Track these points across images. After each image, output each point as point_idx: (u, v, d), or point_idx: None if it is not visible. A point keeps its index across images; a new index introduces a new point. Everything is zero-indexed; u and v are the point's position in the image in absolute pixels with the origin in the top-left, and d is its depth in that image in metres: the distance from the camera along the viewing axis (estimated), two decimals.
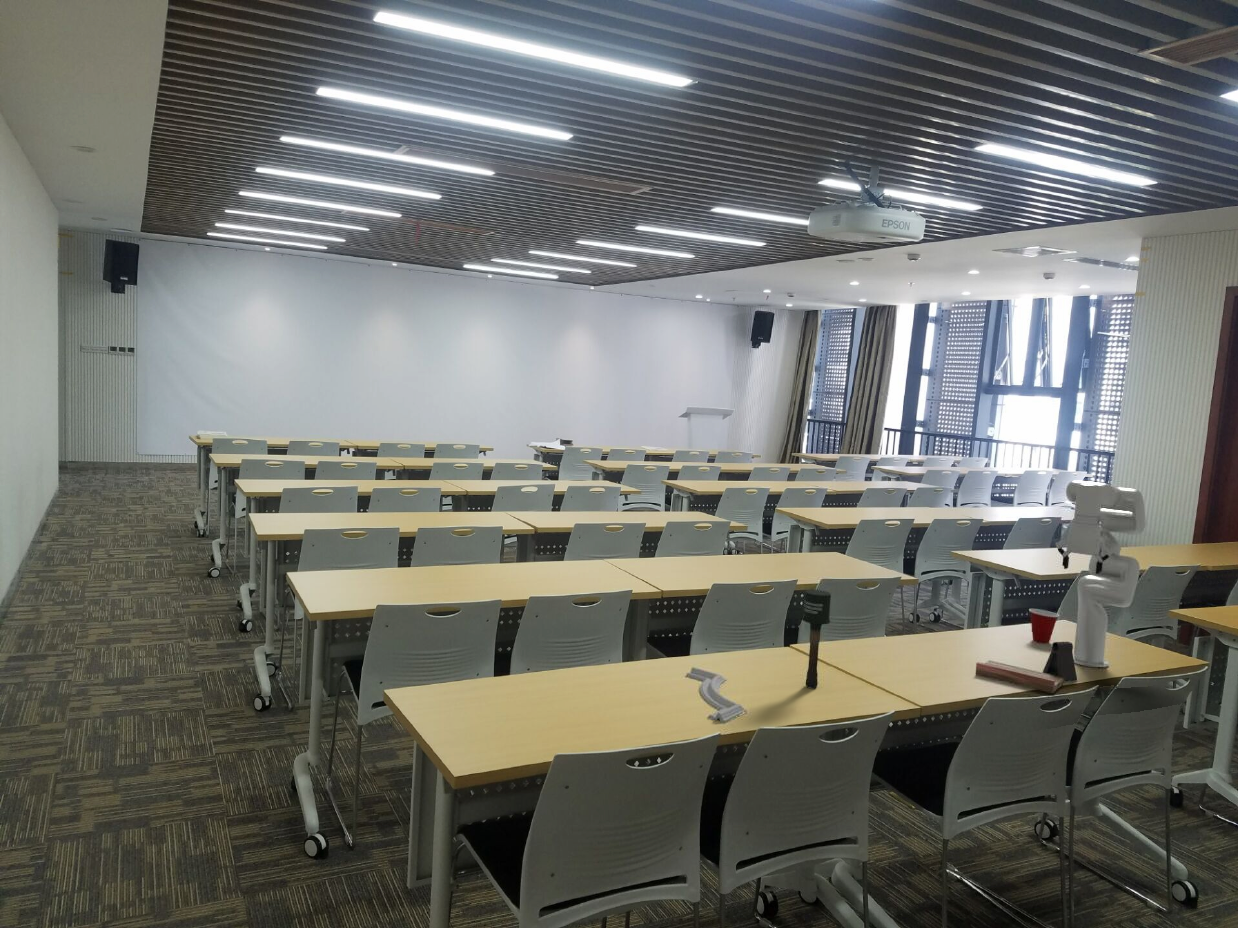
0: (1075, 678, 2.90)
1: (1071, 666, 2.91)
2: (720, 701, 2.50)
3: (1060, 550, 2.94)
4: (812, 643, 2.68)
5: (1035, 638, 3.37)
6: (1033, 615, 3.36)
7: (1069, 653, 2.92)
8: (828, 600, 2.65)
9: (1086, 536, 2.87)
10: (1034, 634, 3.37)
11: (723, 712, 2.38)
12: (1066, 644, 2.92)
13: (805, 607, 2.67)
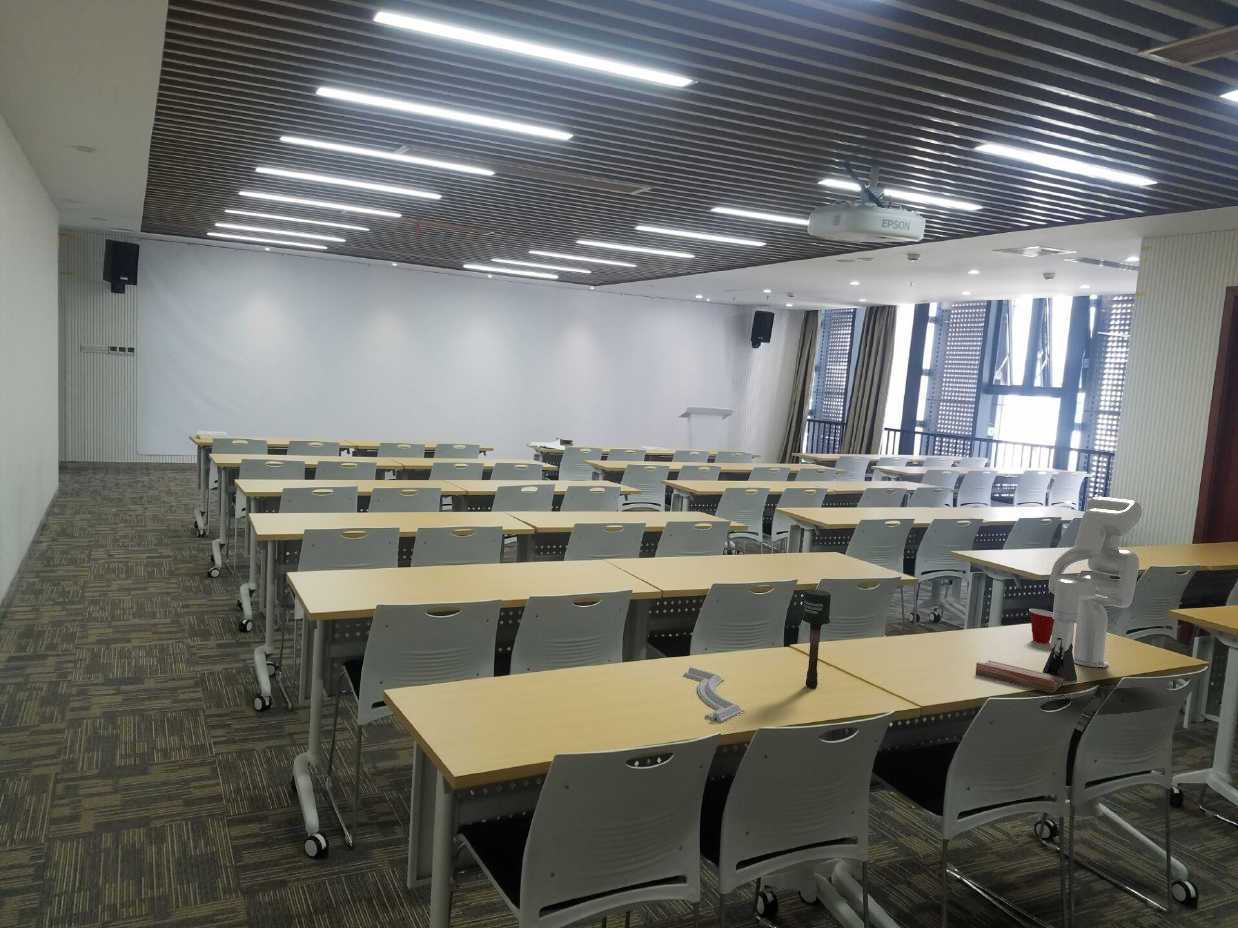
0: (1075, 678, 2.90)
1: (1071, 666, 2.91)
2: (717, 701, 2.49)
3: (1060, 654, 2.88)
4: (812, 643, 2.68)
5: (1035, 638, 3.37)
6: (1033, 615, 3.36)
7: (1069, 653, 2.92)
8: (828, 600, 2.65)
9: (1072, 631, 2.91)
10: (1034, 634, 3.37)
11: (720, 712, 2.38)
12: None
13: (805, 607, 2.67)
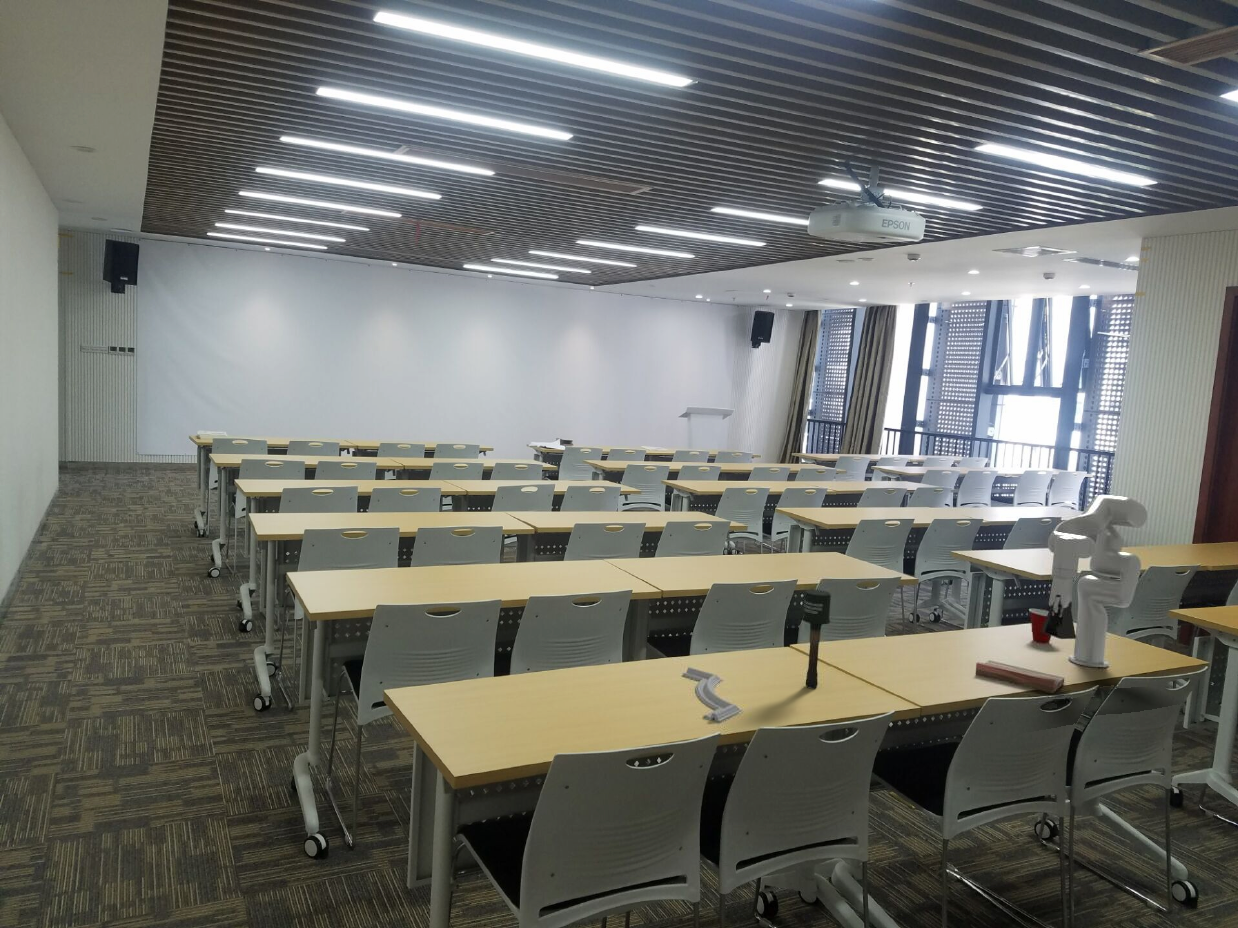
0: (1074, 636, 2.86)
1: (1070, 624, 2.87)
2: (715, 701, 2.49)
3: None
4: (812, 643, 2.68)
5: (1035, 638, 3.37)
6: (1033, 615, 3.36)
7: (1068, 611, 2.88)
8: (828, 600, 2.65)
9: (1071, 589, 2.87)
10: (1034, 634, 3.37)
11: (718, 712, 2.38)
12: None
13: (805, 607, 2.67)
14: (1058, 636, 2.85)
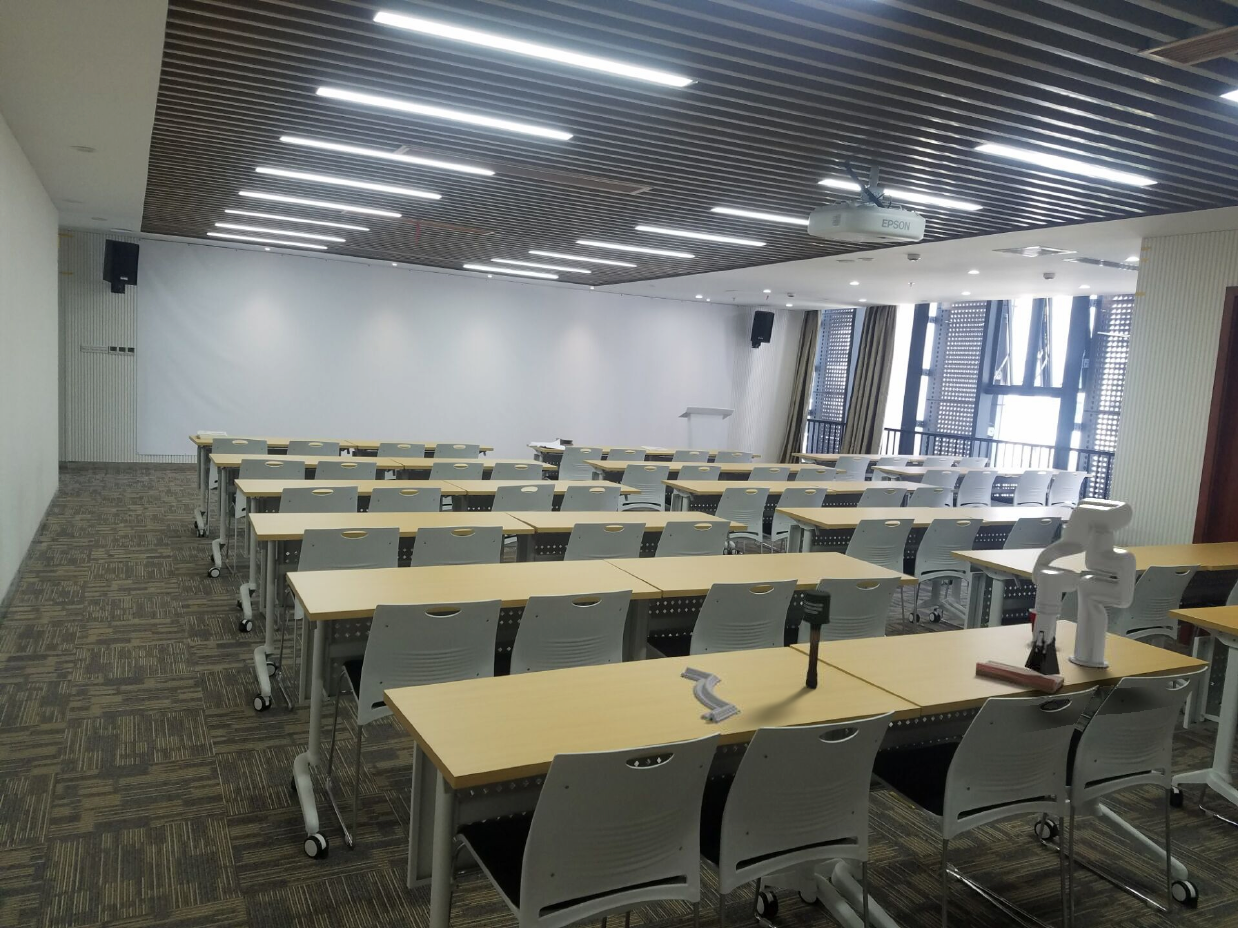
0: (1058, 672, 2.81)
1: (1054, 659, 2.82)
2: (714, 701, 2.49)
3: (1042, 648, 2.79)
4: (812, 643, 2.68)
5: None
6: (1033, 615, 3.36)
7: (1052, 646, 2.83)
8: (828, 600, 2.65)
9: (1055, 624, 2.82)
10: None
11: (716, 712, 2.38)
12: None
13: (805, 607, 2.67)
14: (1042, 672, 2.81)
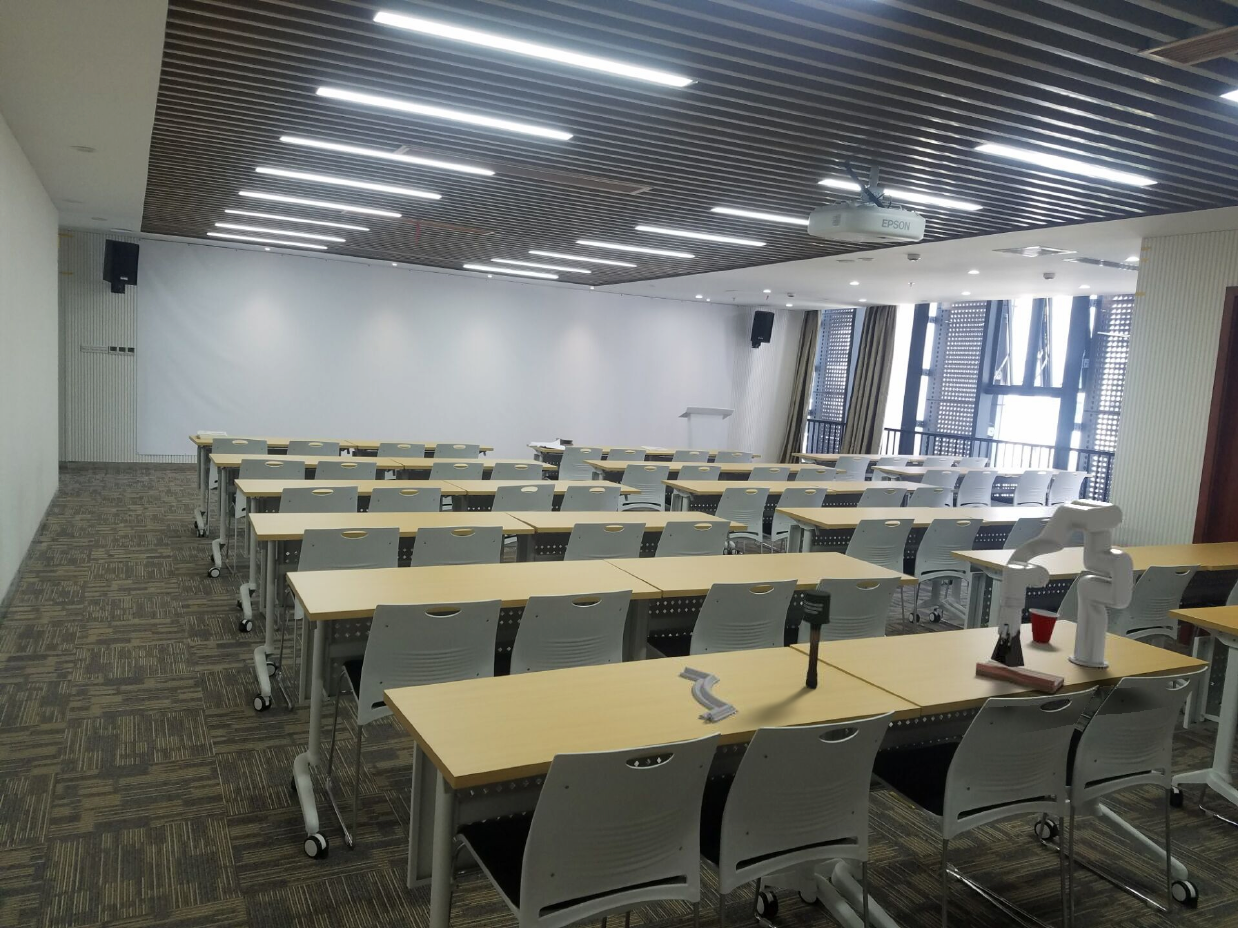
0: (1022, 664, 2.88)
1: (1018, 652, 2.89)
2: (712, 701, 2.49)
3: (1007, 640, 2.86)
4: (812, 643, 2.68)
5: (1035, 638, 3.37)
6: (1033, 615, 3.36)
7: (1016, 639, 2.90)
8: (828, 600, 2.65)
9: (1019, 617, 2.89)
10: (1034, 634, 3.37)
11: (714, 712, 2.38)
12: None
13: (805, 607, 2.67)
14: (1007, 664, 2.88)
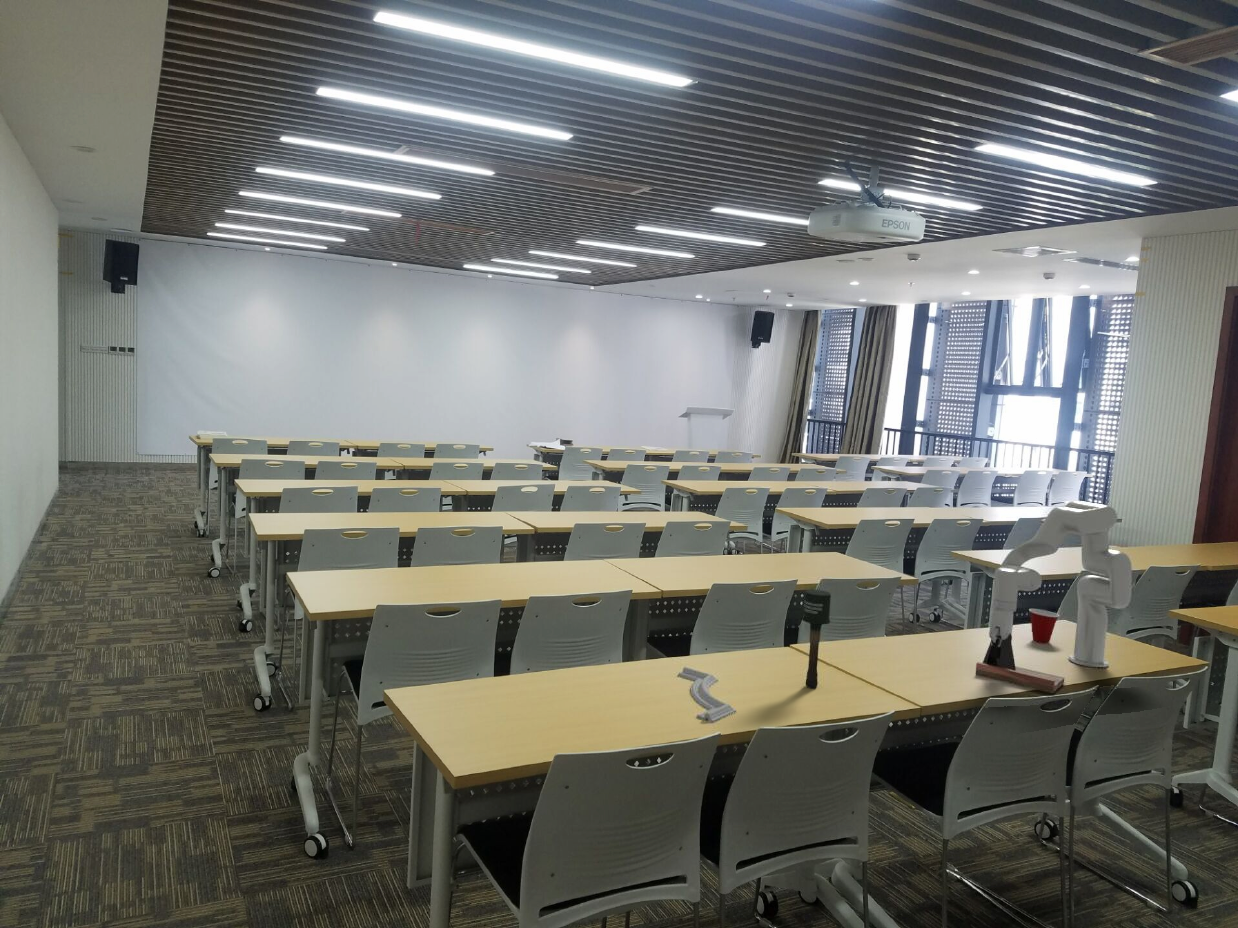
0: (1014, 669, 2.90)
1: (1010, 657, 2.90)
2: (710, 701, 2.49)
3: (997, 641, 2.87)
4: (812, 643, 2.68)
5: (1035, 638, 3.37)
6: (1033, 615, 3.36)
7: (1008, 644, 2.92)
8: (828, 600, 2.65)
9: (1011, 620, 2.91)
10: (1034, 634, 3.37)
11: (711, 712, 2.38)
12: None
13: (805, 607, 2.67)
14: None
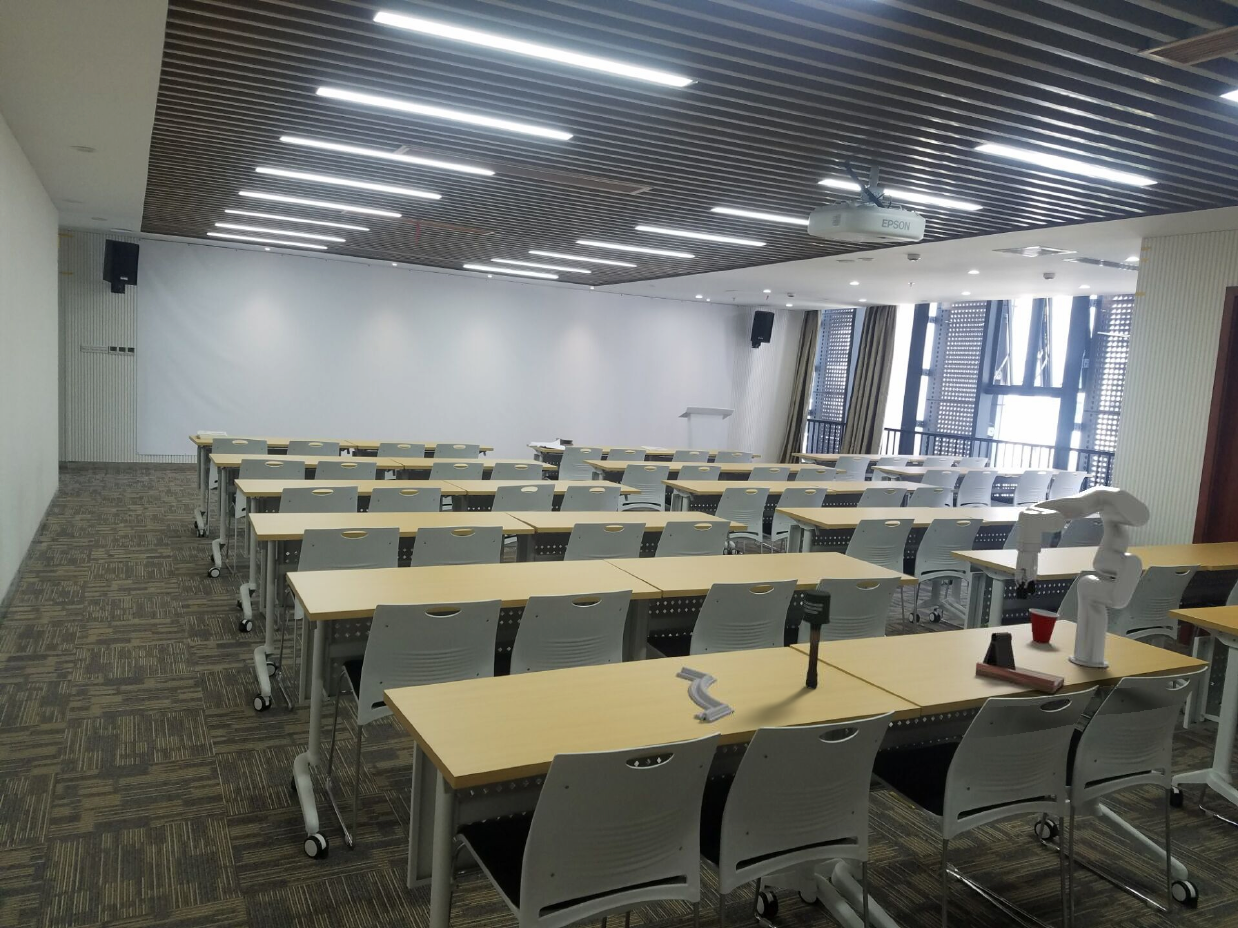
0: (1014, 669, 2.90)
1: (1010, 657, 2.90)
2: (708, 701, 2.49)
3: (1023, 583, 2.90)
4: (812, 643, 2.68)
5: (1035, 638, 3.37)
6: (1033, 615, 3.36)
7: (1008, 644, 2.92)
8: (828, 600, 2.65)
9: (1036, 562, 2.94)
10: (1034, 634, 3.37)
11: (709, 712, 2.38)
12: (1005, 635, 2.91)
13: (805, 607, 2.67)
14: None
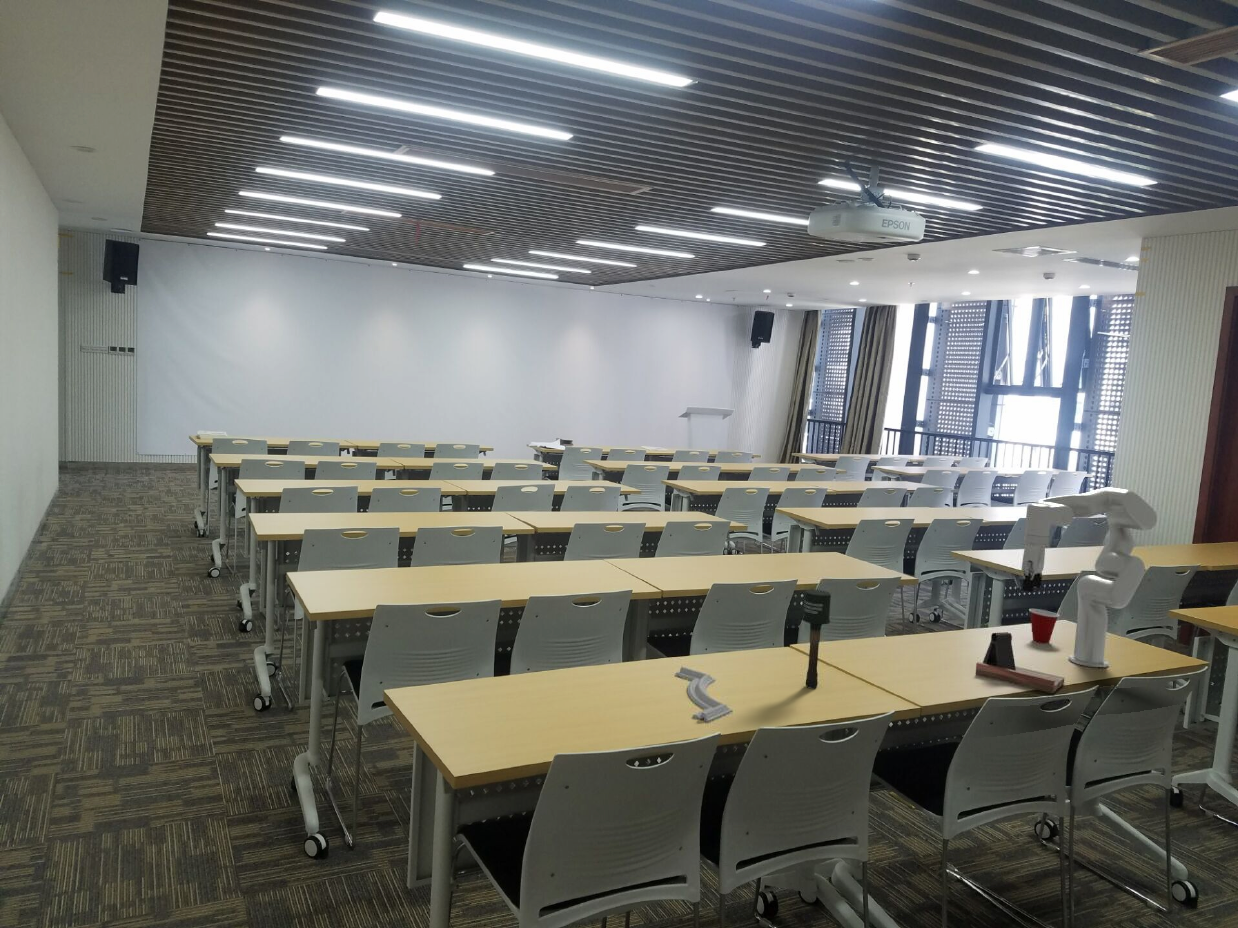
0: (1014, 669, 2.90)
1: (1010, 657, 2.90)
2: (706, 701, 2.49)
3: None
4: (812, 643, 2.68)
5: (1035, 638, 3.37)
6: (1033, 615, 3.36)
7: (1008, 644, 2.92)
8: (828, 600, 2.65)
9: (1043, 555, 2.95)
10: (1034, 634, 3.37)
11: (707, 712, 2.38)
12: (1005, 635, 2.91)
13: (805, 607, 2.67)
14: None
